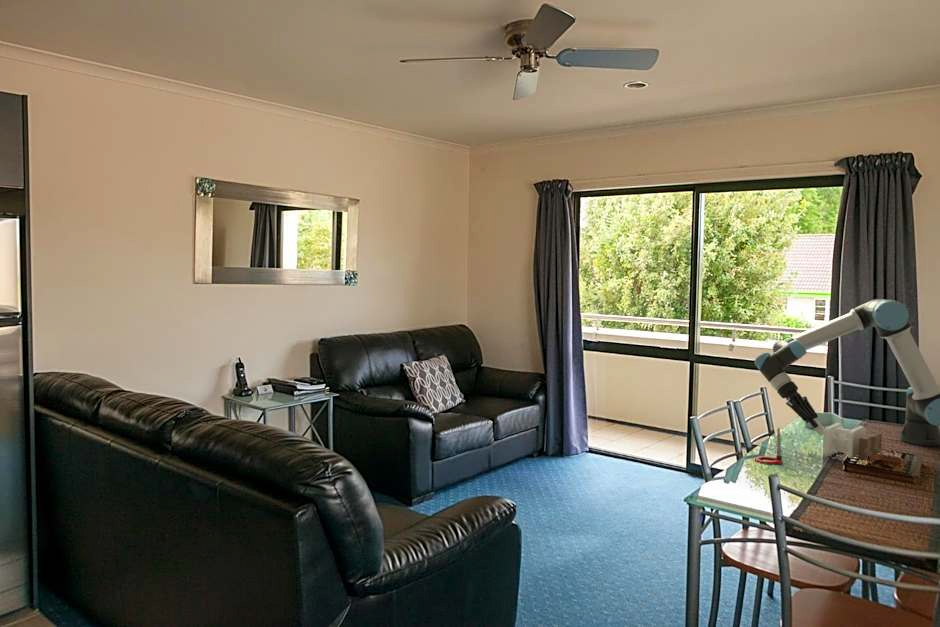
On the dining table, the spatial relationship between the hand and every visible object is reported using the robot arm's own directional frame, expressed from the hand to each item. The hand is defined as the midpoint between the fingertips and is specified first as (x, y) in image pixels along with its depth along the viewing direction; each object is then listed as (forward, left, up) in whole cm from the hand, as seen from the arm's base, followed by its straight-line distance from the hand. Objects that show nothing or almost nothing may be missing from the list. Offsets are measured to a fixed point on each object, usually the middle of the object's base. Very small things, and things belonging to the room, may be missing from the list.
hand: (823, 433), depth 269 cm
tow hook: (+30, -6, -8) cm, 32 cm away
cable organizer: (0, +8, -8) cm, 11 cm away
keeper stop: (0, +12, -8) cm, 14 cm away
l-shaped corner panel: (-37, -18, -8) cm, 41 cm away
